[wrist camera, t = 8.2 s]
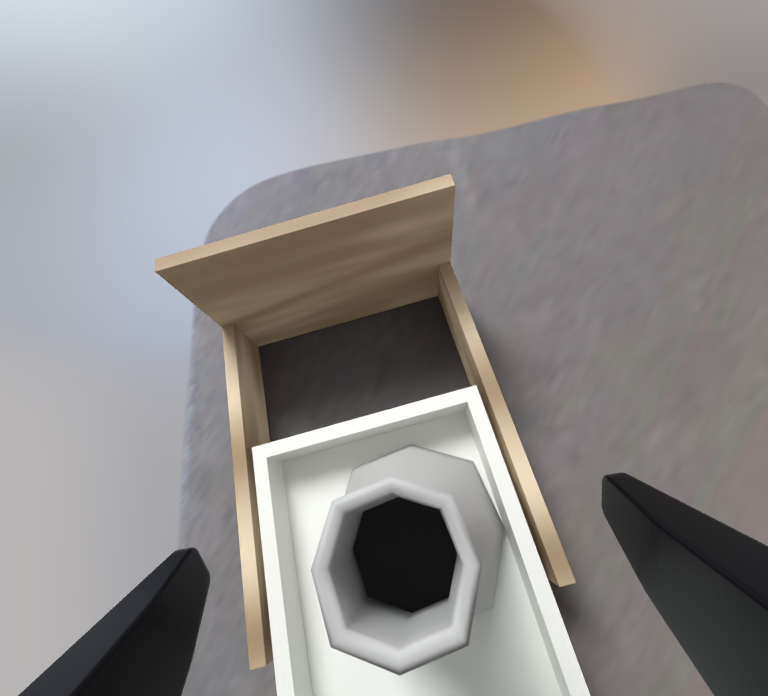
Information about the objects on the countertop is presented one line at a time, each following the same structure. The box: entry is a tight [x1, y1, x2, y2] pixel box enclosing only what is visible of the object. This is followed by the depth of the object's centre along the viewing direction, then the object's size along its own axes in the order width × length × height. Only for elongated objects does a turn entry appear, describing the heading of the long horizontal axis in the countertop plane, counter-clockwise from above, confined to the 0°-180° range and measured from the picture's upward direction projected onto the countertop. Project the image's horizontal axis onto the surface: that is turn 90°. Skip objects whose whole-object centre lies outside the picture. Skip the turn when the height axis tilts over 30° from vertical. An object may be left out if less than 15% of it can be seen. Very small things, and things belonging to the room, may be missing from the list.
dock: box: [155, 174, 576, 670], centre depth 15 cm, size 15×12×8 cm
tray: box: [252, 385, 590, 696], centre depth 14 cm, size 15×10×5 cm
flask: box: [311, 444, 505, 676], centre depth 12 cm, size 7×7×10 cm
